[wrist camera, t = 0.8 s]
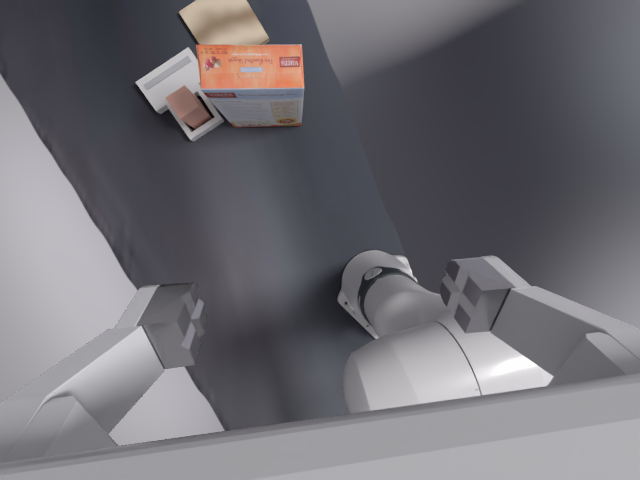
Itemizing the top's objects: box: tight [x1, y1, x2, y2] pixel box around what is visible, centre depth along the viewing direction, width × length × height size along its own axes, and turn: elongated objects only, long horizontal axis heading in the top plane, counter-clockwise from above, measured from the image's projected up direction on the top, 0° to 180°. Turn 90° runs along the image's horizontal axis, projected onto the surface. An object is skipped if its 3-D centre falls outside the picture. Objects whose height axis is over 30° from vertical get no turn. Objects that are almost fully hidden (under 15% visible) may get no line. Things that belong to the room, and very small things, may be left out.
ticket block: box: [166, 85, 212, 129], centre depth 52 cm, size 4×4×8 cm
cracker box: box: [196, 45, 304, 127], centre depth 47 cm, size 14×6×21 cm, turn 92°
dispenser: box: [136, 47, 224, 141], centre depth 54 cm, size 14×12×2 cm
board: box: [179, 0, 269, 45], centre depth 53 cm, size 12×12×1 cm
